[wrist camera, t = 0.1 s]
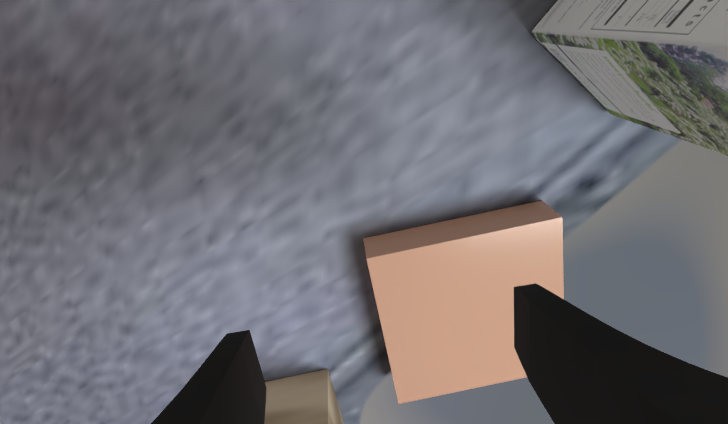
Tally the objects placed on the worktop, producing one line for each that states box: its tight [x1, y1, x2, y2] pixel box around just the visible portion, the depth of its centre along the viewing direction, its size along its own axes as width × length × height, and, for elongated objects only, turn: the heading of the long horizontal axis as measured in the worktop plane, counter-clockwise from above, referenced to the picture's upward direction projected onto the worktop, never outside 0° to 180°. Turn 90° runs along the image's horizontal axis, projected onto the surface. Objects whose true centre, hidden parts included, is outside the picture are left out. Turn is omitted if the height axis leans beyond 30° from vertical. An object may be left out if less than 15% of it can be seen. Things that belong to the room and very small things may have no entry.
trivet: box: [363, 201, 564, 404], centre depth 23 cm, size 9×9×2 cm
